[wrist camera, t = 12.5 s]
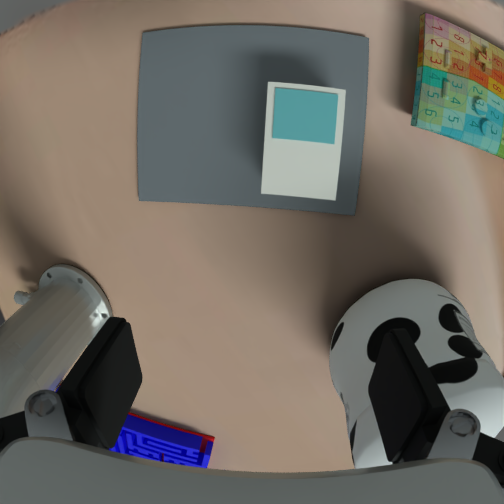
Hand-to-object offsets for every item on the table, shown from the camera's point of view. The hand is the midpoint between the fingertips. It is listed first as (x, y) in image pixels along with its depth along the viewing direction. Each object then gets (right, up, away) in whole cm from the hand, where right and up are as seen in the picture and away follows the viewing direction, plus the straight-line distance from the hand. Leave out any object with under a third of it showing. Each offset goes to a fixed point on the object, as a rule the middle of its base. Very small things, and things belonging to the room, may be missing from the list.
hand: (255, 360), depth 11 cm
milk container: (+17, -6, +25) cm, 31 cm away
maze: (-24, -37, +43) cm, 62 cm away
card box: (+4, +14, +17) cm, 22 cm away
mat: (0, +17, +17) cm, 24 cm away
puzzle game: (+25, +20, +14) cm, 35 cm away
